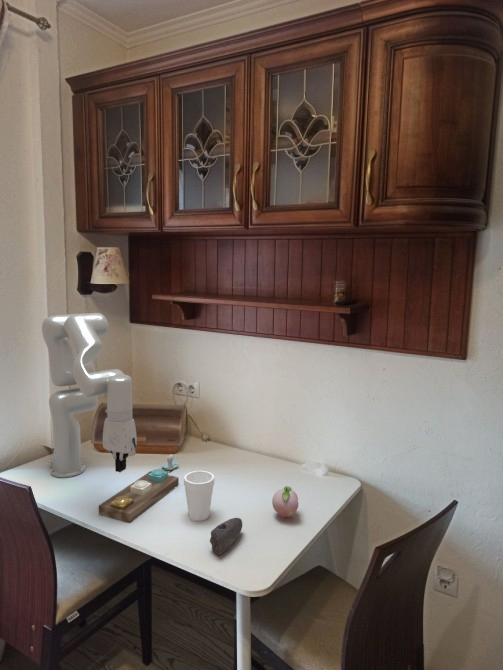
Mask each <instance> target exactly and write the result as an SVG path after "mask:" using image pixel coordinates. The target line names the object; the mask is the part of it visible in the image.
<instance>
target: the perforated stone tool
mask: <svg viewBox="0 0 503 670" xmlns="http://www.w3.org/2000/svg"><path fill="white" fill-rule="evenodd" d="M242 520H243V519H241V518H240V517H233V518H229V519H228V520H225V521H224V522H222V523H219V524H218V525H217V526H216V527H215V528H213V529H212V530H211V531H210V539H209V543H210V545H211V550H212V551H214V553H216V554H217V555H218V556H219V555H221V554H223V553H224V552H226V551H227V550H228V549H230V547H231V546H232V545H233V544H234V543H235V542H236V540H237V539H238V538H239V536H240V534H241V532H242V529H243V521H242Z"/></svg>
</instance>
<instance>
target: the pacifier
mask: <svg viewBox="0 0 503 670" xmlns="http://www.w3.org/2000/svg"><path fill="white" fill-rule="evenodd" d="M178 466H179V461H178V460H174V454H172V453H171V454H169V455H168V457H167V463H165V464H162V465H161V466H160V468H159V469H162V470H164V471H166V472H170V470H171V471H172V470H174V469H176V468H177V467H178Z"/></svg>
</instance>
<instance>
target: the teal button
mask: <svg viewBox="0 0 503 670" xmlns="http://www.w3.org/2000/svg"><path fill="white" fill-rule="evenodd" d="M162 469H163V468H162ZM162 469H160V468H156V469H154V470H152V472H151V473H150V474H148V481H152V482H157V483H161V482H163V481H164V480H166V479H167V478H168V475H169V471H164V470H162Z"/></svg>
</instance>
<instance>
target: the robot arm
mask: <svg viewBox="0 0 503 670" xmlns="http://www.w3.org/2000/svg"><path fill="white" fill-rule="evenodd" d="M108 332H109V321H108V319H107V317H106V316H105V315H104V314H102V313H100V312H89V313H70V314H69V313H68V314H56V315H51V316H48V317H46V318H44V319H43V321H42V324H41V334H42V335H41V336H42V337H43V340H44V343H45V346H46V348H47V351H48V359H49V360H48V361H49V371H50V378H51V383H52V384H53V385H54V387H59V388H60V387H68V386H69V387H70V386H74V385H77V387H75V388H74V387H73V388H68V389H63V390H58V391H55V392H53V393H52V394H51V395H50V397H49V398H48V405H49V409H50V415H51V419H52V421H51V422H52V434H53V454H54V455H51V457H50V459H48V461H47V462H48V463H49V464H52V466H51V468H50V475H51V476H53V477H56V478H70V477H71V478H72V477H77V476H79V475H81V474H83V473H84V472H85V471H86V469H87V466H86V463H84V462H82V445H81V444H82V442H81V424H80V422H79V421H78V420H77V419H76V418H75V417H74V415H76V414H79V413H80V414H81V413H84V412H85V413H86V412H89V411H93V410H95V409H96V408H97V407H98V403H99V396H104V395H106V403H107V404H106V407H107V408H106V409H105V413H106V415H107V417H105V418H104V422H103V423H104V424H103V430H102V447H103V449H105V450H106V451H107V452H110V454H112V457H113V460H114V468H115V472H118V473H122V472H124V471H125V470H126V469H127V458H128V457H134V456H135V455H136V454H137V453H136V449H137V445H138V444H137V443H138V442H137V440H138V439H137V429H136V423H135V419H134V418H133V379H132V377H131V376H130V375H129V374H125V373H124V372H123V371H122V370H121V369H118V368H115V369H105V370H104V369H103V370H99V371H96V368H95V365H94V363H93V360H94V359H96V358H98V357H99V356H100V354H101V353H102V351H103V350H104V344H103V342H102V341H101V339H100V337H104V336H105V335H107V334H108ZM67 338H68V339H69V340H70V341H68V339H67ZM70 342H71V343H70ZM74 350H75V352H76V353H77V354H76V356H75V357H74Z"/></svg>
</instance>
